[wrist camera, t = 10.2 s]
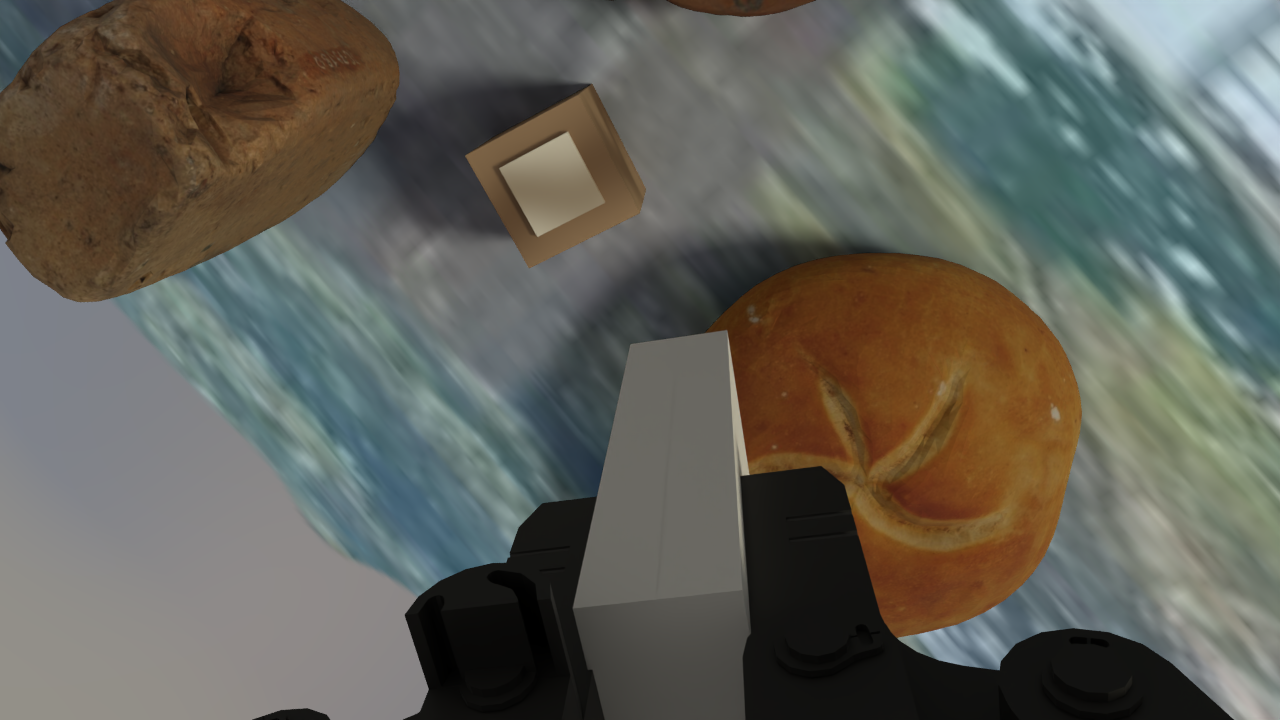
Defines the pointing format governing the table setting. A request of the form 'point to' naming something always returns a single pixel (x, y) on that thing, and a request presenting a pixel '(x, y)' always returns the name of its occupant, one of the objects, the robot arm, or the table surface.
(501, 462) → the table surface
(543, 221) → the walnut cube
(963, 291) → the bread
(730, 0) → the dish
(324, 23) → the brown pitted rock
